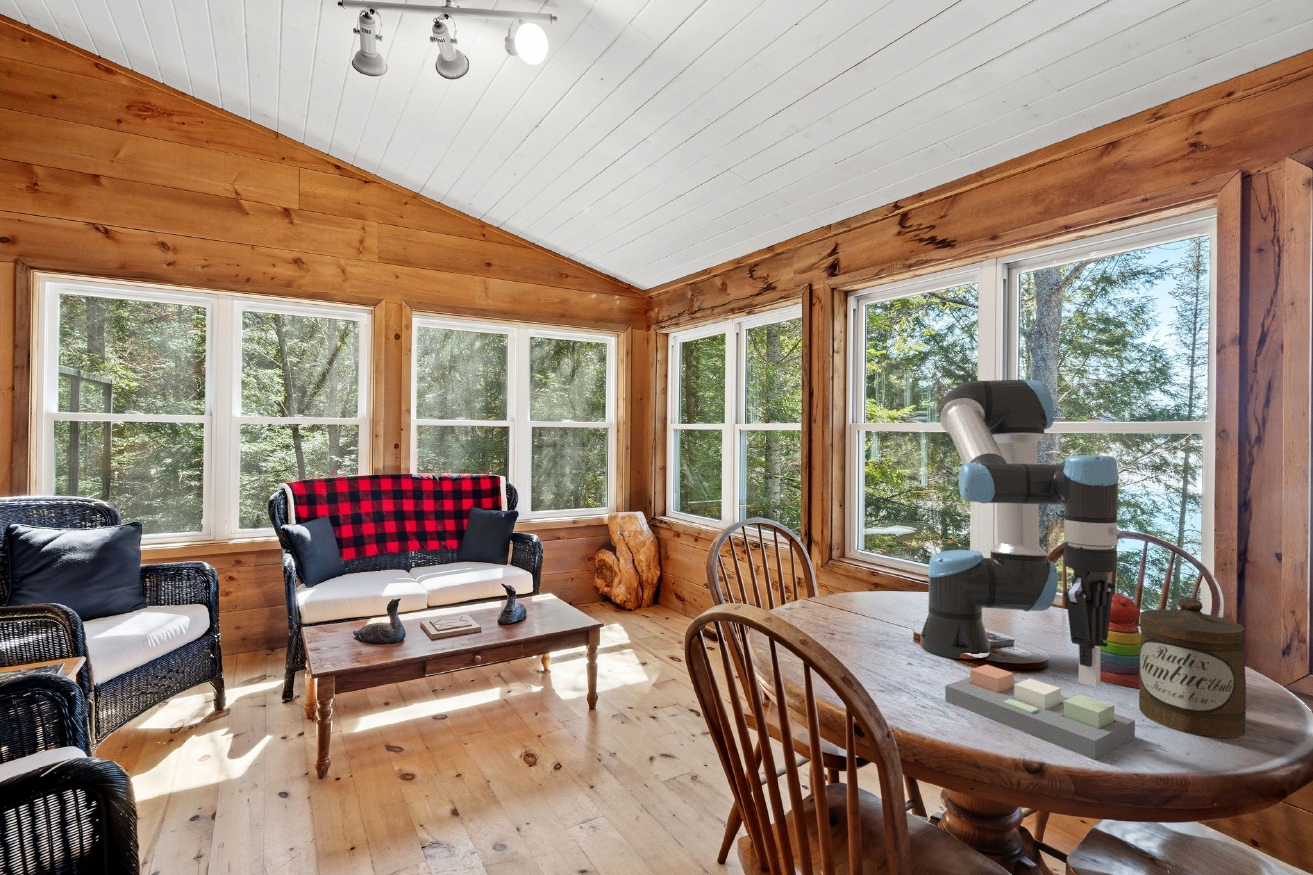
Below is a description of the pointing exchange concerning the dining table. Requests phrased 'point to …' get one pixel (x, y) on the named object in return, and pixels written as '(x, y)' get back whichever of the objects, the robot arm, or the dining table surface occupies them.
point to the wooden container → (1193, 671)
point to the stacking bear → (1121, 645)
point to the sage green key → (1089, 711)
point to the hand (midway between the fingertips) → (1089, 683)
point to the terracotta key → (992, 678)
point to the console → (1041, 719)
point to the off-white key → (1037, 694)
